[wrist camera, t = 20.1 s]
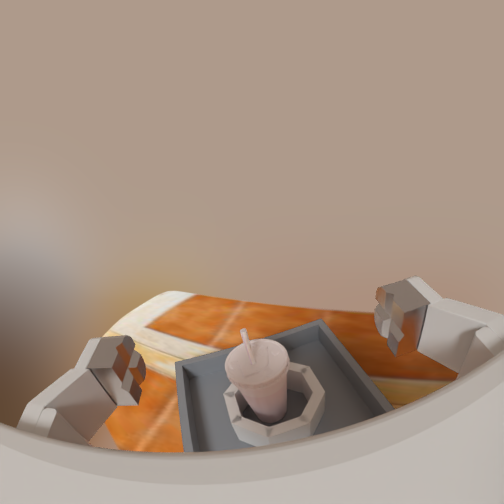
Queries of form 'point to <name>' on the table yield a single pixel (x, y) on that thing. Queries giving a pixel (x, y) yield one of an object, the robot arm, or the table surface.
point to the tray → (298, 395)
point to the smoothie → (260, 376)
